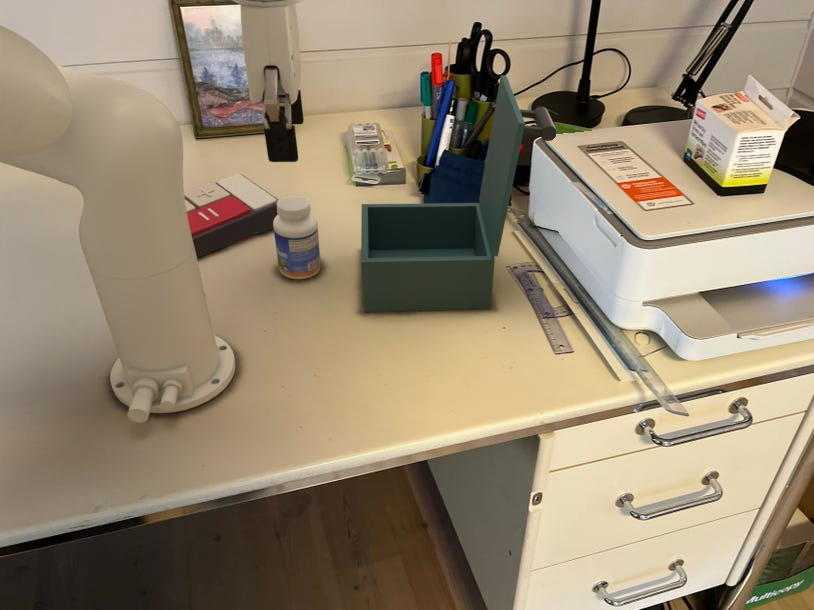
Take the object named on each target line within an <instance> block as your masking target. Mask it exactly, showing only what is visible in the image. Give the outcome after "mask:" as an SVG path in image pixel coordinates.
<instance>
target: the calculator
mask: <svg viewBox="0 0 814 610" xmlns="http://www.w3.org/2000/svg"><path fill="white" fill-rule="evenodd" d="M184 197H185V204H186V211H187V216H188V221H189V226H190V231H191V235H192V240H193V243H194V247H195V252H196V256H197V259H198V258H200V257H203V256H206V255H208V254H210V253H212V252H214V251H217V250H219V249H221V248H224V247H226V246H228V245H231V244H233V243H236V242H238V241H240V240H242V239H244V238H247V237H249V236H252V235H254V234H256V233H257V234H258V233H259V234H266V233H269V232H271V231H274V228H273V221H274V219H275V217H276V216H277V215H278V213H277V201H278V200H279V199H280V198H279V199H278V198H277V197H275V196H274V195H273V194H271V193H270V192H269V191H267V190H265V189H264V188H262V187H261V186H259V185H258V184H257V183H255V182H254V181H252V180H251V179H249V178H248V177H247V176H246V175H244V174H242V173H236V174H233V175H230V176H228V177H224V178H222V179H219V180H217V181H216V182H213V181H211V182H208V183H205V184H203V185H200V186H198V187H195V188H193V189H190V190H188V191H184Z"/></svg>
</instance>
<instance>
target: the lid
mask: <svg viewBox="0 0 814 610" xmlns="http://www.w3.org/2000/svg"><path fill="white" fill-rule="evenodd" d="M494 106H495V107H494V111H493V117H492V123H491V128H490V130H491V131H490V135H489V139H488V141H489V142H488V145H487V146H488V147H487V152H486V157H485V163H484V167H483V174H482V179H481V186H480V192H479V197H478V203H480V206H481V211H482V215H483V219H484V223H485V228H486V232H487V236H488V240H489V245H490V249H491V253H492V256H494V257H495V258H497V257H499V253H500V249H501V243H502V238H503V233H504V229H505V223H506V220H507V219H506V218H507V215H508V214H507V213H508V209H509V204H510V199H511V195H512V190H513V186H514V185H513V184H514V180H515V175H516V171H517V170H516V169H517V165H518V161H519V156H520V151H521V146H522V140H523V136H524V134H528V135H537V136H540V137H541V139H542V140H543V141H544V142H550V141H551V142H552V140H553V139H554V138H555V137H556V134H557V131H556V128H555V126H554V122H553V120H552V117H551V115H550V113H549V111H548V109H547V108H546V107H544V106H538V107H536V108H535V109H534V110H529V109H522V108H521V109H520V107H519V104H518V102H517V98H516V97H515V95H514V92H513V89H512V86H511V84H510V82H509V79H508V76H507V75H503V74H502V75H500V78H499V84H498V89H497V94H496V100H495V105H494ZM524 119H532V120H533V121H534V123H535V125H536V126H535V125H526V122H525V120H524Z"/></svg>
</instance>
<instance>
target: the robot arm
mask: <svg viewBox="0 0 814 610" xmlns="http://www.w3.org/2000/svg"><path fill="white" fill-rule="evenodd" d="M302 1H303V0H232V2H234V3H236V4H238V5H239V6H240V26H241V37H242V46H243V54H244V62H245V71H246V78H247V88H248V96H249V101H250V102H251V103H252V105H258V103H262V108H263V109H262V111H263V133H264V139H265V147H266V152H267V159H268V161H269V162H270V163H297V162H298V160H299V149H298V142H297V135H296V134H297V133H296V127H295V125H303V124H304V110H303V102H302V92H301V89H300V85H301V76H302V63H301V60H302V59H301V44H300V34H299V23H298V13H297V6H296V4H298V3H301V2H302ZM0 163H2V164H5V165H8V166H11V167H14V168H18V169H20V170H24V171H27V172H29V173H35V174H37V175H39V176H40V175H41V176H43V177H46V178H49V179H50V178H51V179H52V180H56V181H58V182H60V183H63V184H66V185H69V186H72V187H74V188H75V189H76V190H78V191H79V192H80V194H81V196H82V199H83V207H82V212H81V216H80V218H79V224H78V238H79V243H80V246H81V249H82V253H83V256H84V259H85V261H86V264H87V267H88V269H89V273H90V275H91V279H92V282H93V285H94V288H95V291H96V294H97V297H98V299H99V302H100V306H101V308H102V312H103V315H104V317H105V320H106V323H107V326H108V329H109V332H110V335H111V338H112V340H113V343H114V347H115V350H116V352H117V355H118V357H117V359H116V360H115V362H114V363H113V365H112V367H111V371H110V377H109V380H110V385H111V388H112V391H113V392H114V395H115V397H116V398H117V399H118V400H119V401H120V403H122V404H124V405H125V406H126V407H128V410H127V413H126V416H127V419H128V420H130V421H131V422H134V423H138V424H139V423H140V424H142V423H145V422H146V421H148V419H149V417H150V414H169V413H170V414H171V413H176V412H181V411H186V410H189V409H192V408H195V407H196V408H197V407H198V406H200V405H203V404H205V403H207V402H209V401H211V400H212V399H213V398H215V397H217V396H218V395H220V394H221V392H223V391H224V390H225V389H226V388H227V387H228V385H229V384H230V382H231V381H232V380H233V377H234V375H235V372H236V367H237V366H236V358H235V355H234V354H235V353H234V351H233V349H232V348H231V346H230V344H228V343H227V342H226V340H224V339H223V338H220V337H219V336H217V335H215V331H214V328H213V323H212V319H211V313H210V309H209V305H208V301H207V297H206V292H205V288H204V284H203V279H202V278H203V277H202V275H201V270H200V264H199V262H198V258H197V256H196V252H195V247H194V243H193V240H192V235H191V231H190V226H189V221H188V216H187V211H186V204H185V197H184V192H185V187H184V142H183V135H182V129H181V127H180V124H179V122H178V120H177V118H176V116H175V115H174V113H173V112H172V111H171V109H170V108H169V107H168V106H167V105H166V104H165V103H164V102H163V101H162V100H161V99H159V97H157V96H156V95H154V94H152V93H150V92H149V91H147V90H145V89H143V88H141V87H139V86H136V85H134V84H132V83H128V82H125V81H122V80H119V79H115V78H112V77H108V76H103V75H100V74H95V73H91V72H88V71H82V70H76V69H73V68H70V67H66V66H62V65H58V64H55V63H54V61H53V60H52V59H51V58H50V57H49V56H48V55H47V54H46V53H45V52H44V51H43V50H41V49H40V48H39V47H38V46H36V45H35V44H34V43H32V42H31V41H30V40H29V39H27V38H25V37H23V36H22V35H20V34H18V33H17V32H15V31H13V30H12V29H9V28H7V27H5V26H3V25H0Z"/></svg>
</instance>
